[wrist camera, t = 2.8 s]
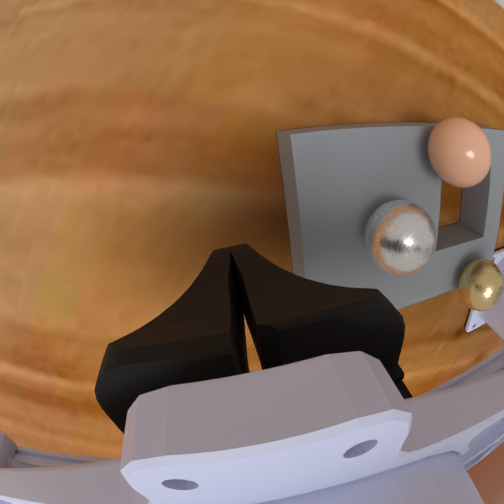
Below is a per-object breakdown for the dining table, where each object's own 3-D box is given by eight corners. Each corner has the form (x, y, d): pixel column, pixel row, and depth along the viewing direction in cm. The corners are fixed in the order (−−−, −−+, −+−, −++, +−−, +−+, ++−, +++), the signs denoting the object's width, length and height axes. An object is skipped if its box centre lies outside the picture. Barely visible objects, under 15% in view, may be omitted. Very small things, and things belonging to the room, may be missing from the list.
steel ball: (409, 187, 12) (454, 208, 10) (406, 248, 14) (444, 278, 11) (351, 195, 12) (390, 221, 9) (352, 261, 14) (385, 298, 11)
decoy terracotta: (457, 115, 11) (504, 123, 8) (458, 175, 12) (501, 193, 10) (412, 113, 11) (461, 119, 8) (414, 180, 12) (459, 200, 9)
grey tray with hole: (478, 124, 14) (505, 130, 12) (467, 259, 18) (488, 274, 16) (275, 131, 13) (290, 134, 11) (296, 308, 17) (308, 335, 15)
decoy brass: (484, 245, 15) (517, 268, 12) (475, 286, 16) (504, 311, 13) (453, 255, 15) (488, 282, 12) (444, 299, 16) (473, 328, 13)
